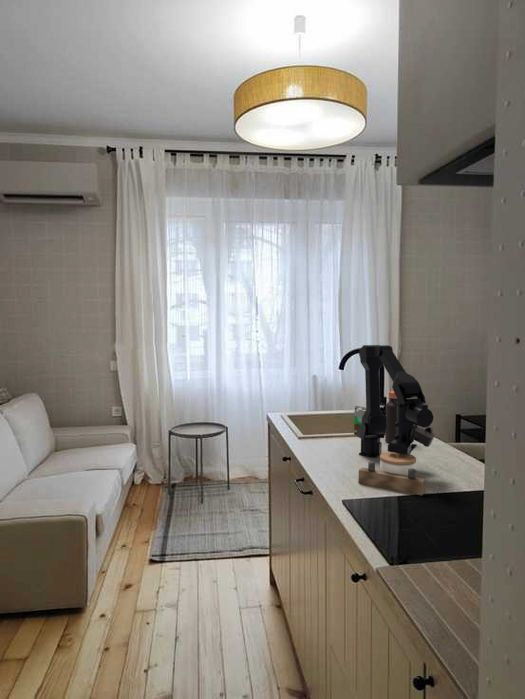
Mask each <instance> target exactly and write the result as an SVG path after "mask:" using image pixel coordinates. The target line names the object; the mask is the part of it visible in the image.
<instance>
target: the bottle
mask: <svg viewBox="0 0 525 699" xmlns="http://www.w3.org/2000/svg"><path fill="white" fill-rule="evenodd" d="M388 399H389V401H388V402H386V404H385V416H386V425H387V428H386V432H385V437H384V442H385V443H387V444H389V443H391V442H392V441H393V440H398V441H399V439H395V435H396V434H397V426H395V423H396V422H397V403H394V400H395V399H397V397H396V395H395V393H394V391H393V390H392V391H391V390H390V391H388Z"/></svg>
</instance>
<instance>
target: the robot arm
mask: <svg viewBox="0 0 525 699" xmlns="http://www.w3.org/2000/svg"><path fill="white" fill-rule="evenodd" d="M358 356H359V359H360V360H359V361H360V364H361V366H362V367H363V369H364V371H365V372H364V375H365V380H364V381H365V407H366V411H365V413H364V415H363V417H362V424H361V425H360V427H359V428H358V430H357V434H356V436H357V438H359V439H360V452H359V453H358V455H359V456H366V457H372V458H377V457H380V454H382V453H383V452H382V448H383V446H382V445H383V444H382V441H381V439H385V432H386V428H387V425H386V414H385V415H384V414H383V412H382V410H381V390H380V389H381V386H380V369H381V368H382V366H383V367H384V369H385V371H386V372H387V374H388V376H389V378H390V379H391V381H392V385H391V388H392V391H394V393H395V395H396V397H397V399H395V400H394V403H397V422H396V423H395V426H397V434H396V435H395V439H399V441H398V440H393V441H392V442H391V443H387V451H386V452H394V453H400V454H411V455H412V451H414V449H416V447H417V446H418V444H421V445H422V446H423V447H426V448H428V447H430V445H431V444H432V443H433V440H434V438H435V436H436V435H435V433H434V429H433V427H430V426H431V424H432V423H433V422H434V415H433V412H432V410H431V409H429V405H428V404H426V403H427V400H426V396H425V395H424V393H423V390H422V387H421V384H420V382H419V381H418V380H417V379H416V378H415V377H414V376H413V375H411V374H409V373H408V372H407V371H406V370H405V369H404V367H403V366H402V364H401V362H400V361H399V359H398V358H397V356H396V354H395V353H394V350H393V347H392V346H391V345H389V344H388V345H386V344H385V345H384V344H383V345H381V344H365V345H362V346H361V348H359V352H358ZM420 427H421V428H420ZM415 441H416V442H417V443H418V444H416V443H414V442H415Z"/></svg>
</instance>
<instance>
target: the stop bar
mask: <svg viewBox="0 0 525 699" xmlns="http://www.w3.org/2000/svg"><path fill="white" fill-rule="evenodd" d="M367 462H368V466H367V467H363V466H362V467H360V468H359V469H358V481H357V482H358V484H363V485H368V486H373V487H378V488H382V489H387V490H393V491H398V492H403V493H409V494H412V495H418V496H424V494H425V492H426V478H425V477H424V478H423V477H418V476H416V468H415V469H412V468H409V469H408V476H407V475H402V474H395V473H389V472H385V471H381V469H380V470H379V469H376V462H375V461H367Z"/></svg>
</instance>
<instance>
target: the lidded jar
mask: <svg viewBox="0 0 525 699" xmlns="http://www.w3.org/2000/svg"><path fill="white" fill-rule="evenodd" d="M416 462H417V457H416V456H415V455H413V454H412V453H411V454H400V453H394V452H388V451H385V452H382V453H381V454H380V455H379V469H380V471H385V472H389V473H395V474H402V475H407V476H408V469H409V468H412V469H415V470H416Z"/></svg>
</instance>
